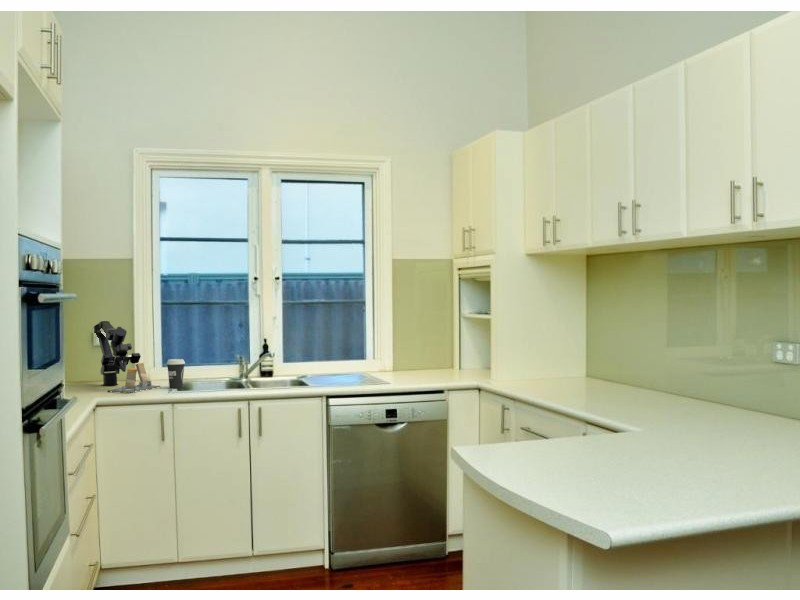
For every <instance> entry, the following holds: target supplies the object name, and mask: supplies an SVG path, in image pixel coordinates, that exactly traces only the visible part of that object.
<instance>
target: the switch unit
mask: <svg viewBox="0 0 800 600" xmlns="http://www.w3.org/2000/svg"><path fill="white" fill-rule="evenodd" d="M157 387H160V388H161V385H152V380H148V382H145V383H144V382H141V381H139V382H138V384H135V385H134V387H131V388H126V387H125V385H121V387H119V388H115V389H108V390H106V392H107V391H112V392H111V393H114V392H127V393H126V394H131V393H130V392H134V393H136V392H135V391H139V392H141V391H140V390H144V391H147V390H146V389H149V390H153V389H152V388H155V389H158V388H157Z"/></svg>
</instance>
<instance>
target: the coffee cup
mask: <svg viewBox="0 0 800 600" xmlns="http://www.w3.org/2000/svg"><path fill="white" fill-rule="evenodd" d="M185 364H186V362H185V360H184V359H183V358H171V359H168V360H167V362H166V365H167V375H168V384H169V385H168V386H169V389H174V390H178V389H182V388H183V385H184V384H183V383H184V373H185V372H184V371H185Z"/></svg>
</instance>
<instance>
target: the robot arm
mask: <svg viewBox="0 0 800 600" xmlns="http://www.w3.org/2000/svg"><path fill="white" fill-rule="evenodd" d="M93 328H94V333H96V335H97V337H98V338H99V341H98V343H99V347H100V350H101V353H102V356H101V360H100V363H101V368H100V375H102V376H103V383H102V384H101V386H102V385H108V386H107V387H111V385H113V386H117V385H116V384H118V376H117V374H118V375H119V374H120V372H121V371H122V372H124V373H125V372H126V370H127V366H128V364H129V363H131V364H139V363H140V360H141V353H139V352H133V353H131V355H128V351H131V350H132V349H133V346H132V344H131V343H130V342H129V343H126V344H124V342H125V339H126V336H127V334H128V333H127V332H128V331H127V330H126V329H125V328H122V326H117V327H116V328H115V327H114V326H113V325H112V324H111V322H110V320H109V321H108V320H101V321H99V322H98V323H97V324H95V325H94V326H93ZM101 328H102V329H103V330H104V332H105V333H106V337H105V336H104V335H103V334H102V333H101V331H100V329H101ZM109 341H110V342H109Z"/></svg>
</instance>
